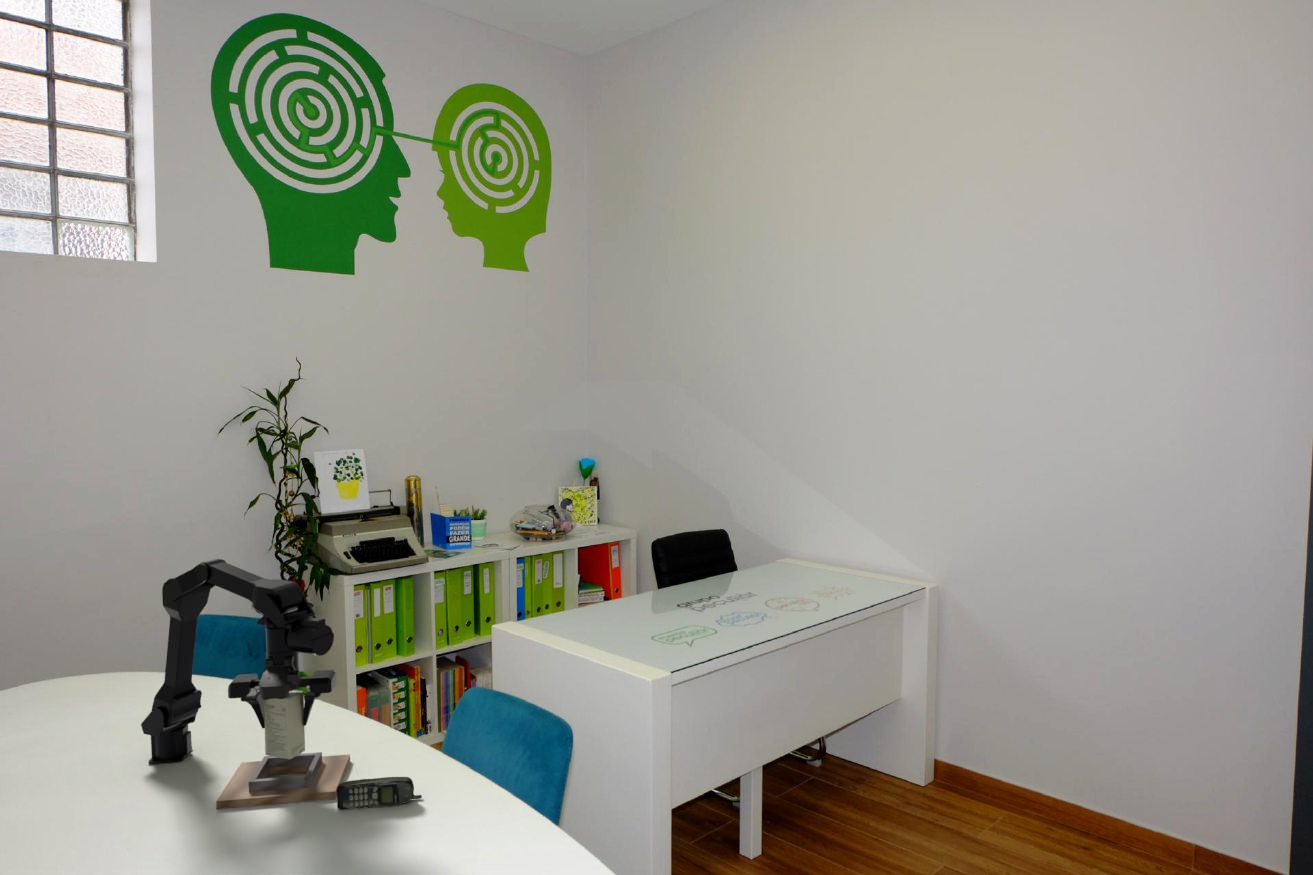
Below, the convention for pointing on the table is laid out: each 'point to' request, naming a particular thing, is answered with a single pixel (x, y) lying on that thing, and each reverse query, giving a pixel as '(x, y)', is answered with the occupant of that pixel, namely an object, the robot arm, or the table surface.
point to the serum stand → (285, 780)
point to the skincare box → (284, 726)
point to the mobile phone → (375, 792)
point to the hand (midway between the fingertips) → (284, 726)
